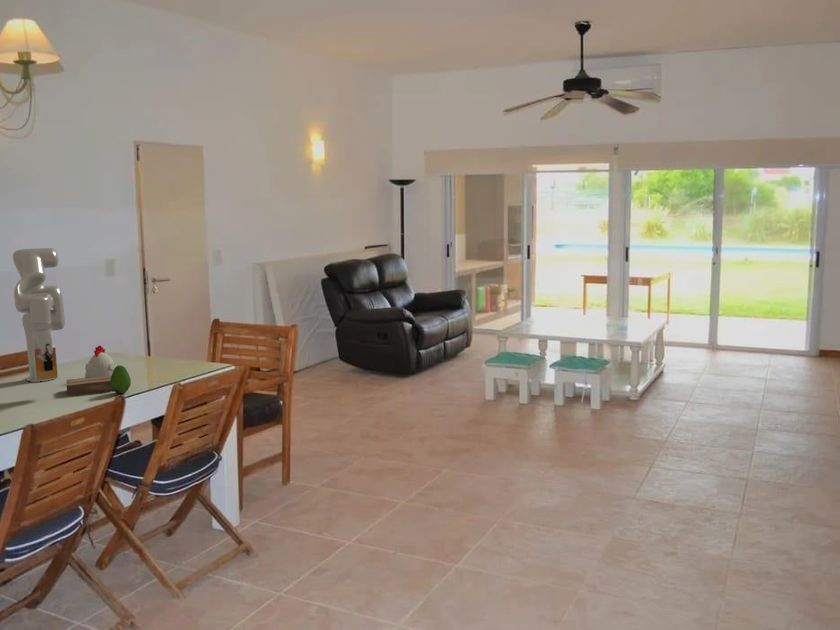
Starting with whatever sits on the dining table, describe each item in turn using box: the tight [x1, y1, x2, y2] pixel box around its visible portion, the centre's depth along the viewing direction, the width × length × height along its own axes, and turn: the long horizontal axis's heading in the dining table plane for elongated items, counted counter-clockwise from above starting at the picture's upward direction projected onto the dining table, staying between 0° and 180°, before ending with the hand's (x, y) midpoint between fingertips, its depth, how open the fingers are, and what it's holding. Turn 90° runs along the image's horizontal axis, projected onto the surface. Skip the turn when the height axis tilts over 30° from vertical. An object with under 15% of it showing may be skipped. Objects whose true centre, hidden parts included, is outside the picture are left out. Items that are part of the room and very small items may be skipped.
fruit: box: [110, 365, 132, 394], centre depth 332 cm, size 8×8×12 cm
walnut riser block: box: [65, 375, 114, 397], centre depth 339 cm, size 12×18×5 cm, turn 113°
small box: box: [32, 344, 58, 380], centre depth 327 cm, size 8×6×13 cm
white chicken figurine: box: [84, 345, 117, 378], centre depth 363 cm, size 14×14×15 cm
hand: (45, 368), depth 327 cm, fingers closed on small box, 6 cm apart
